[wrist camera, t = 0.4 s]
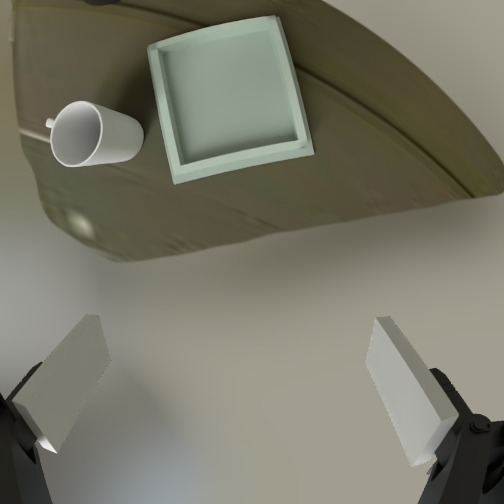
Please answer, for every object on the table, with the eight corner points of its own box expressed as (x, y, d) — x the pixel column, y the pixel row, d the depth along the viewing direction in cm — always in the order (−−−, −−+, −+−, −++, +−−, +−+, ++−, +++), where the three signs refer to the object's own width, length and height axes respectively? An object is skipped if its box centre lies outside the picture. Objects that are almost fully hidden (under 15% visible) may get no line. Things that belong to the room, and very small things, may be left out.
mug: (154, 123, 34) (113, 110, 23) (134, 170, 36) (88, 176, 24) (96, 103, 33) (45, 89, 21) (79, 147, 35) (25, 147, 23)
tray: (147, 48, 31) (140, 41, 28) (279, 18, 29) (280, 8, 27) (174, 184, 36) (168, 186, 34) (313, 154, 35) (318, 154, 32)
